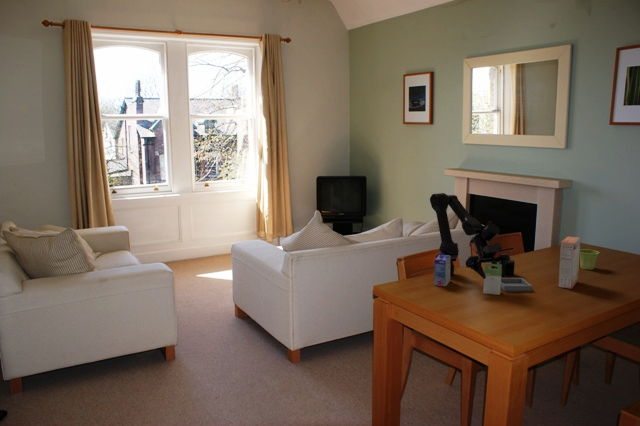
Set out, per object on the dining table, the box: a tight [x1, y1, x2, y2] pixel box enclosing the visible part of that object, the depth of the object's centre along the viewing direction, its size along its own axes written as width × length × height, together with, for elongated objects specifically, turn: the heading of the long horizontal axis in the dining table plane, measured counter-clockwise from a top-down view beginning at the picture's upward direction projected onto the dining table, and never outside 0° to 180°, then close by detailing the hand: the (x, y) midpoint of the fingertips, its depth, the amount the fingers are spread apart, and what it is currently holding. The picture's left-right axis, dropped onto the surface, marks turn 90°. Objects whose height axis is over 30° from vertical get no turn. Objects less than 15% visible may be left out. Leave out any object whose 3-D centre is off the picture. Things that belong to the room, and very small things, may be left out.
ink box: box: [482, 263, 502, 296], centre depth 233 cm, size 7×4×13 cm, turn 71°
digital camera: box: [490, 259, 515, 277], centre depth 261 cm, size 10×5×7 cm, turn 73°
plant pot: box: [579, 248, 600, 271], centre depth 272 cm, size 9×9×9 cm
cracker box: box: [558, 235, 581, 290], centre depth 244 cm, size 14×6×21 cm, turn 145°
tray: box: [500, 277, 533, 293], centre depth 242 cm, size 12×12×2 cm
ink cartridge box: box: [434, 250, 451, 287], centre depth 247 cm, size 10×6×14 cm, turn 155°
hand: (494, 277), depth 231 cm, fingers open, 8 cm apart
